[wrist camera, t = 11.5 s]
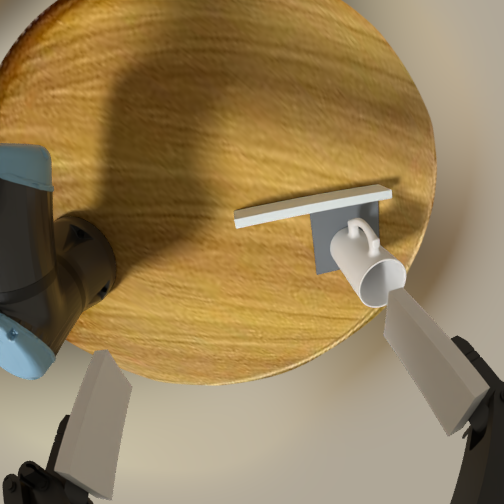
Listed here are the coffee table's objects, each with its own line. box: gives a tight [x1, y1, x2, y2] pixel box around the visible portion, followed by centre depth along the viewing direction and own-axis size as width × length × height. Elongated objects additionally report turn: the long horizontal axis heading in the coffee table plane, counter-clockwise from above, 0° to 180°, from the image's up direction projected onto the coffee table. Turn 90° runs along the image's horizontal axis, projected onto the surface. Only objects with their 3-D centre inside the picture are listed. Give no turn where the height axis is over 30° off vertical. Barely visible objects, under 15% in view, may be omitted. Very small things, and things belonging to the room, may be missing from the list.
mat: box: [310, 201, 379, 275], centre depth 42 cm, size 11×11×1 cm
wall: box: [234, 184, 392, 229], centre depth 38 cm, size 22×1×4 cm, turn 101°
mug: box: [330, 218, 406, 308], centre depth 36 cm, size 10×7×12 cm, turn 16°
